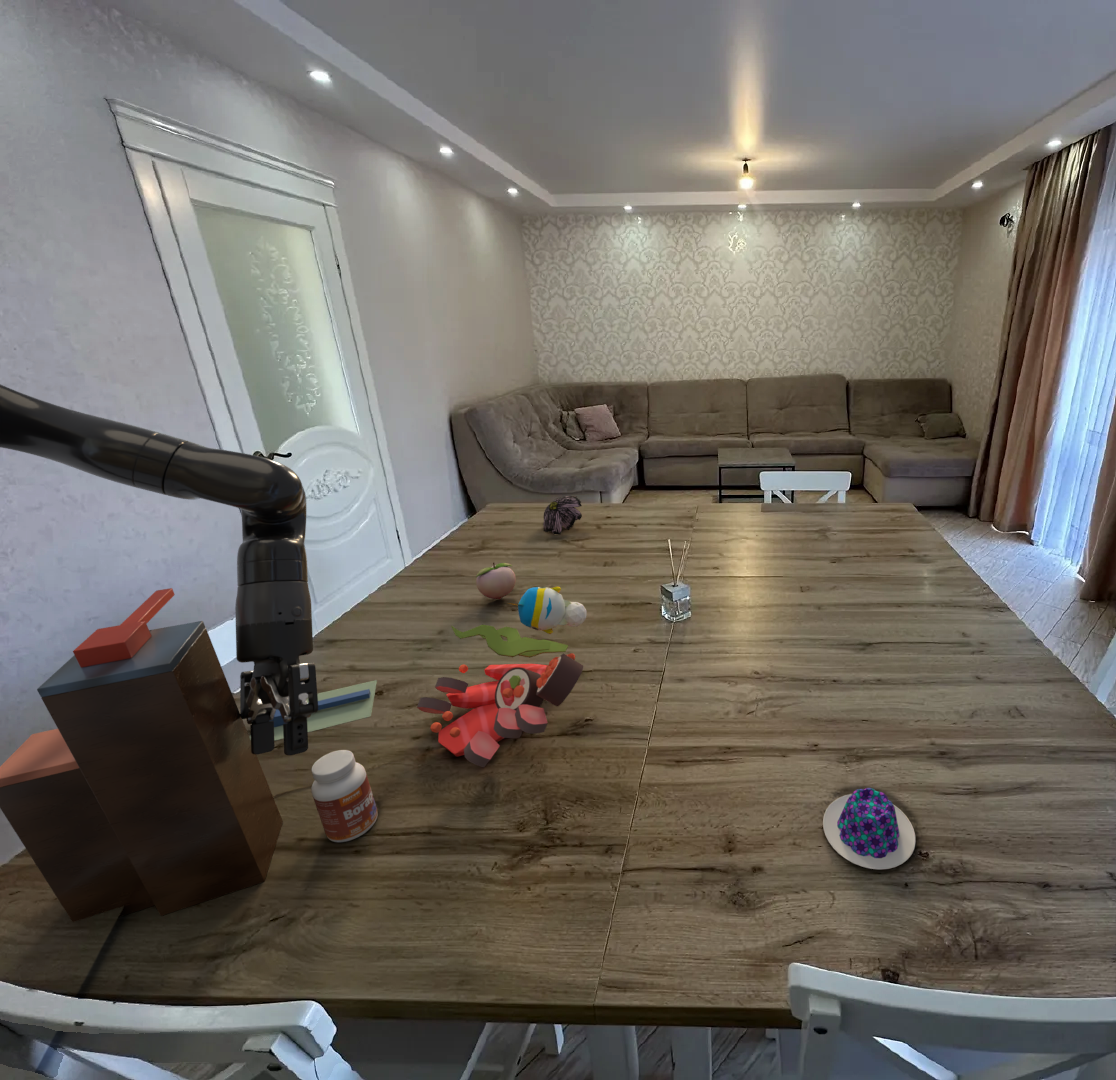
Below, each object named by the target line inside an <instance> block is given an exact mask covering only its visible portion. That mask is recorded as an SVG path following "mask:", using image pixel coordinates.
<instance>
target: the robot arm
mask: <svg viewBox="0 0 1116 1080" xmlns="http://www.w3.org/2000/svg"><path fill="white" fill-rule="evenodd" d="M0 448H2V449H6V450H11V451H16V452H21V453H24V454H25V453H26V454H29V455H32V456H37V457H40V458H44V459H47V460H50V461H54V462H56V463H60V464H62V465H66V466H68V467H71V468H73V469H76V470H79V471H82V472H85V473H87V474H90V475H93V476H95V477H98V478H102V479H104V480H107V481H111V482H114V483H117V484H121V485H125V486H129V487H132V488H136V489H141V490H144V491H147V492H152V493H156V494H159V495H163V496H168V497H171V498H177V499H182V500H189V501H195V500H196V501H197V500H199V499H202V500H206V501H210V502H213V503H217V504H222V505H227V506H230V507H233V508H237V509H240V513H241V533H242V535H241V536H242V543H240V545H239V547H238V549H237V556H236V576H237V577H236V580H237V581H236V582H237V584H236V585H237V587H236V588H237V591H236V598H235V606H234V609H235V610H234V613H235V614H234V615H235V616H234V617H235V654H236V655H235V657H236V661H237V662H238V663H243V664H244V663H253V670H247V671H245V670H244V671H241V672H240V675H239V679H240V680H239V685H240V686H239V688H240V690H239V691H240V692H239V693H240V697H239V698H240V700H239V703H240V704H239V709H240V710H239V712H240V717H241V719H242V720H246V723H247V725H250V726H249V728H250V729H249V730H250V735H251V753H252V754H256V755H262V754H266V753H270V752H273V751H274V749H275V741H274V721H269V720H273V718H274V715H275V712H276V709H278V710H279V711H280V714H281V716H282V719H283V721H284V723H286V724H283V737H284V739H283V754H284V755H285V756H294V755H298V754H302V753H305V752H307V751H308V749H309V732H308V729H307V718H310V716H311V713H316V712H317V711H318V696H317V694H318V684H317V670H316V668H317V667H316V663H315V662H303V663H301V662H300V661H301V660H300V657H302V656H307V655H310V654H312V653H313V651H314V637H313V614H312V613H313V611H312V598H311V592H310V589H309V583H308V582H309V575H308V573H309V572H308V557H307V549H306V542H305V541H306V531H307V496H306V490H305V489H304V486H303V483H302V481H301V479H300V476H299V475H298V474H297V473H296V472H295V471H294V470H293V469H291V467H288V466H287V465H285V464H283V463H280V462H278V461H275V460H272V459H270V458H266V457H263V456H259V455H254V454H250V453H249V454H248V453H244V452H238V451H232V450H227V449H222V448H221V449H220V448H214V447H213V448H212V447H207V446H205V445H201V444H199V443H196V442H193V441H189V440H186V439H183V438H180V437H175V436H172V435H168V434H165V433H162V432H159V431H155V430H152V429H148V428H145V427H141V426H137V425H133V424H129V423H125V422H121V421H117V420H112V419H109V418H105V417H100V416H96V415H93V414H89V413H84V412H82V411H77V410H74V409H70V408H67V407H64V406H60V405H57V404H54V403H51V402H48V401H45V400H42V399H39V398H36V397H34V396H30V395H29V394H26V393H23V392H20V391H19V390H16V389H12V388H11V387H8V386H5V385H3V384H1V383H0ZM307 699H308V701H309V704H308V703H307V701H306V700H307ZM289 707H290V708H289ZM287 722H288V723H287Z"/></svg>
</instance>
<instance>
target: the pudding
mask: <svg viewBox="0 0 1116 1080" xmlns="http://www.w3.org/2000/svg"><path fill="white" fill-rule="evenodd" d="M822 827H823V828H822V829H823V832H824V835H825V837H826V840H827V842H828V843H829V844H830V846H831V847H832V848H833V850H835V851H836V852H837V854H838V855H840V856H841V857H843V858H844V859H845V860H847V861H849V862H851V864H854V865H857V866H860V867H863V868H866V869H869V870H870V869H871V870H872V869H873V870H889V869H892V868H896V867H898V866H900V865H902V864H904V863H905V862H906V861H908V860H909V858H910V857H911V856H912V854H913V853H914V851H915V848H916V833H915V829H914V826H913V824H912V822H911V821H910V819H909V818H908V816H907V815H906V814H905V813H904V812H903V810H901V809H900V808H899V807H898V806H896V805H895V804H893V802H892V800H890V799H889V797H888V796H887V794H886V793H884V792H883V791H878V790H876V789H875V788H872V787H865V788H858V789H855V790H854V791H853V792H852V793H848V794H845V795H842V796H840V797H838V798H835V800H833V801H832V802H831V803H829V805H828V806H827V807H826V809H825V812H824V814H823V820H822Z"/></svg>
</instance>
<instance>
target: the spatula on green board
mask: <svg viewBox="0 0 1116 1080" xmlns="http://www.w3.org/2000/svg"><path fill="white" fill-rule="evenodd" d="M377 683H378V679H375V680H370V681H367V682H360V683H358V684H357V683H356V684H353V685H349V686H345V687H340V688H336V689H332V690H327V691H323V692H319V693H318V692H317V696H318V701H320V700H324V699H329V698H333V697H337V696H341V695H346V694H350V693H354V692H358V691H363V690H367V689H370V693H371V694H370V698H368V699H364V700H359V701H355V702H351V703H347V704H343V705H339V706H335V707H330V708H326V709H322V710H318V711H317V712H316V713H311V716H310V718H307V729H308V733H311V732H316V731H319V730H323V729H327V728H331V727H335V726H339V725H344V724H346V723H347V724H348V723H351V722H355V721H359V720H363V719H367V718H370V717H372V712H373V707H374V701H375V694H376V690H377V689H376V688H377ZM306 701H307V703H309V701H308V699H307V700H306ZM249 738H250V740H251V734H250V735H249ZM280 740H284V737H283V725H282V726H278V727H274V742H275V741H280Z"/></svg>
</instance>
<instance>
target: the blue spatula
mask: <svg viewBox="0 0 1116 1080" xmlns="http://www.w3.org/2000/svg"><path fill="white" fill-rule="evenodd" d="M370 694H371V693H370V689H367V690H363V691H358V692H354V693H350V694H346V695H341V696H337V697H333V698H329V699H324V700H320V701H318V710H322V709H326V708H330V707H335V706H339V705H343V704H347V703H351V702H355V701H359V700H364V699H368V698H370ZM308 704H309V703H308ZM289 708H290V707H289ZM269 721H274V727H278V726H282V725H283V724H286V723H284V721H283V719H282V716H281V714H280V711H279V710H278V709H276V712H275V715H274V718H273V720H269ZM287 723H288V722H287Z"/></svg>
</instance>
